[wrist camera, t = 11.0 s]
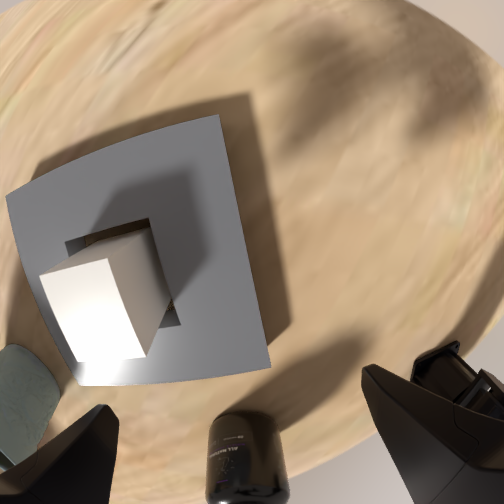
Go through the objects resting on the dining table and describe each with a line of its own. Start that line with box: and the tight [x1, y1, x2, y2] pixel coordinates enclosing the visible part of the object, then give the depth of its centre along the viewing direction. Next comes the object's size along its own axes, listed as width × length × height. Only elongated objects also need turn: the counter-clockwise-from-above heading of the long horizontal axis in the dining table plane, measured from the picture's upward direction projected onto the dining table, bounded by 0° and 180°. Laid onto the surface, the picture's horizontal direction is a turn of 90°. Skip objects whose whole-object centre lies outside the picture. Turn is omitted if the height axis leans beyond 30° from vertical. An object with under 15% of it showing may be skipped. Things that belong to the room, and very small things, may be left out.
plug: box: [39, 227, 172, 362], centre depth 14 cm, size 4×5×7 cm
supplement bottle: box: [205, 412, 290, 504], centre depth 17 cm, size 7×7×12 cm
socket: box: [6, 114, 271, 386], centre depth 16 cm, size 16×16×2 cm
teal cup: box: [0, 344, 60, 471], centre depth 14 cm, size 10×10×12 cm
